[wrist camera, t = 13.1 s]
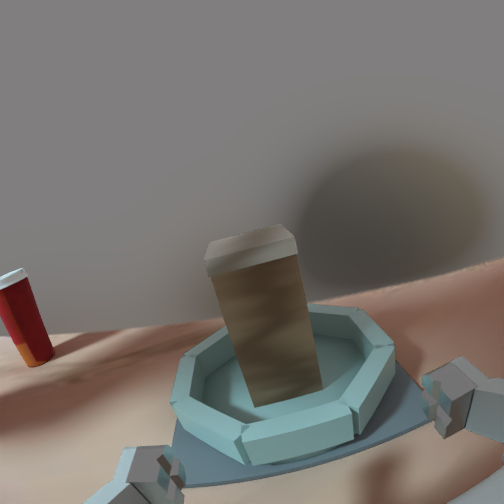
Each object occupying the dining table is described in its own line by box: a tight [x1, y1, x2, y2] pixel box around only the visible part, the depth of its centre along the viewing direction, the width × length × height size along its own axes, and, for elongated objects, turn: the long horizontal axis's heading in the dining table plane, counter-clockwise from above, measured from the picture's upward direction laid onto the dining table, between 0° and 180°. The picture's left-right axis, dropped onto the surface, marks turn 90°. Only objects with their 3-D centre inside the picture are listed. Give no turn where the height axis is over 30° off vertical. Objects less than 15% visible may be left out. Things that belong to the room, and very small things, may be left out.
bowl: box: [170, 304, 395, 466], centre depth 22 cm, size 16×16×3 cm
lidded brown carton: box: [204, 224, 323, 408], centre depth 21 cm, size 5×5×11 cm
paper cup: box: [0, 268, 55, 367], centre depth 37 cm, size 8×8×14 cm
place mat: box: [172, 360, 432, 488], centre depth 23 cm, size 18×16×1 cm
